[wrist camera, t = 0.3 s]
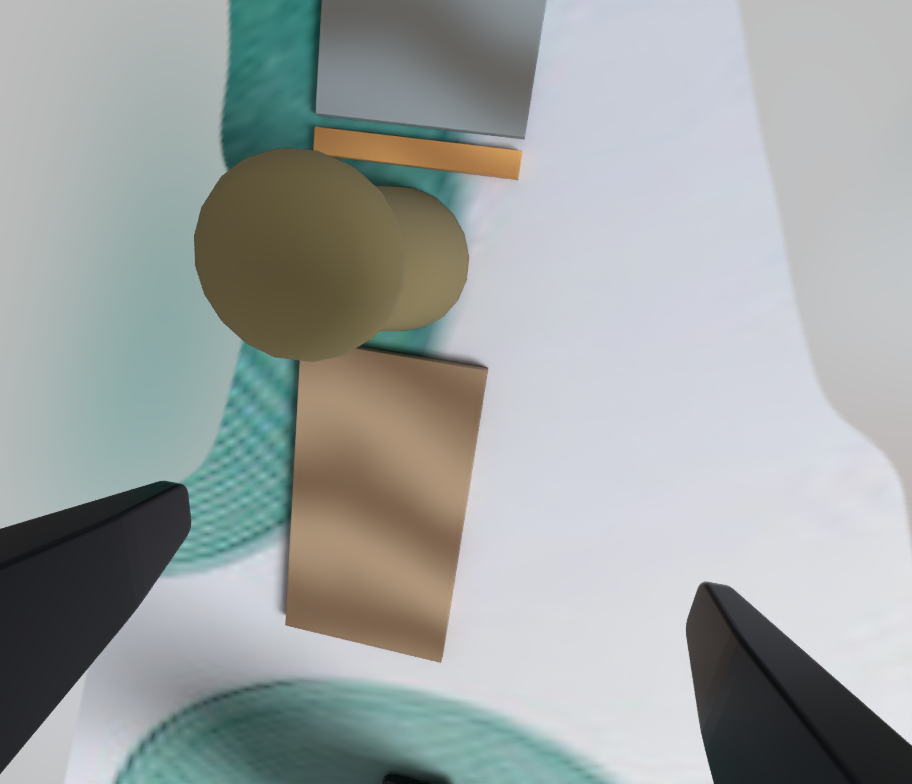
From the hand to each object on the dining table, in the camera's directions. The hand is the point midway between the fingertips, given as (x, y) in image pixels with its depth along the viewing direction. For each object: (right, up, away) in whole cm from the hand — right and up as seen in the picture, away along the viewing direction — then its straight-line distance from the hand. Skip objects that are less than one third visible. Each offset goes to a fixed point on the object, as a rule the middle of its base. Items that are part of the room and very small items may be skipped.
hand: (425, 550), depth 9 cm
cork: (-2, +8, +13) cm, 16 cm away
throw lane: (-2, +5, +14) cm, 15 cm away
